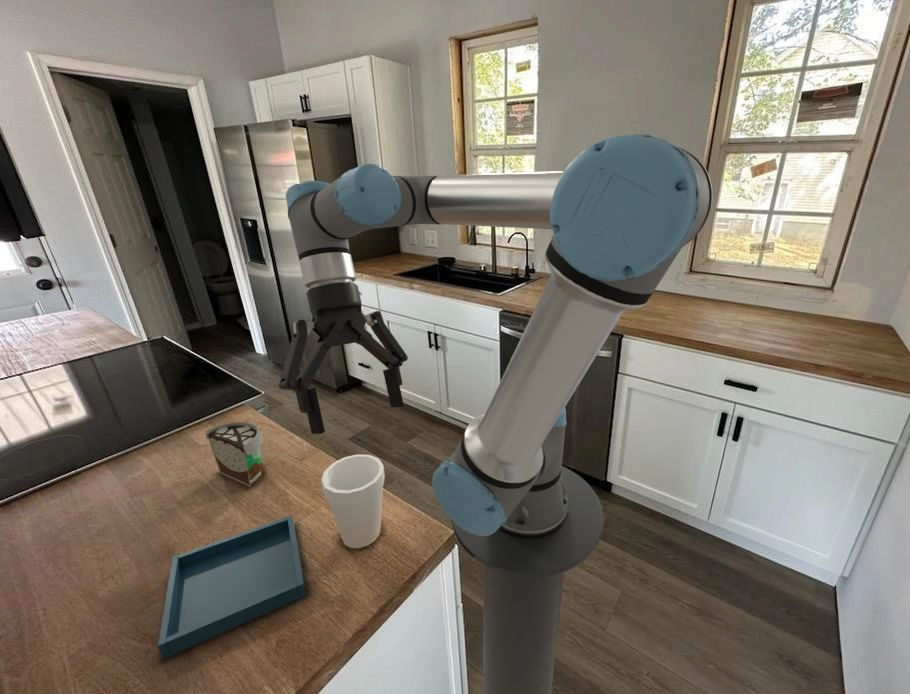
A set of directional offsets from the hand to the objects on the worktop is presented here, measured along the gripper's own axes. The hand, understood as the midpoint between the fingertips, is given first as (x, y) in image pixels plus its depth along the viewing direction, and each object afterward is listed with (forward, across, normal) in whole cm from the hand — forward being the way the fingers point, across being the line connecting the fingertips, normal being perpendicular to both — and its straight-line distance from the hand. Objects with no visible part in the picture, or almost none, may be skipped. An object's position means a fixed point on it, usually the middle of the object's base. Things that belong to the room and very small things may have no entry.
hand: (361, 419), depth 64 cm
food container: (+9, +5, -39) cm, 40 cm away
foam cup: (+21, -1, -10) cm, 23 cm away
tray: (+20, +16, -16) cm, 30 cm away
